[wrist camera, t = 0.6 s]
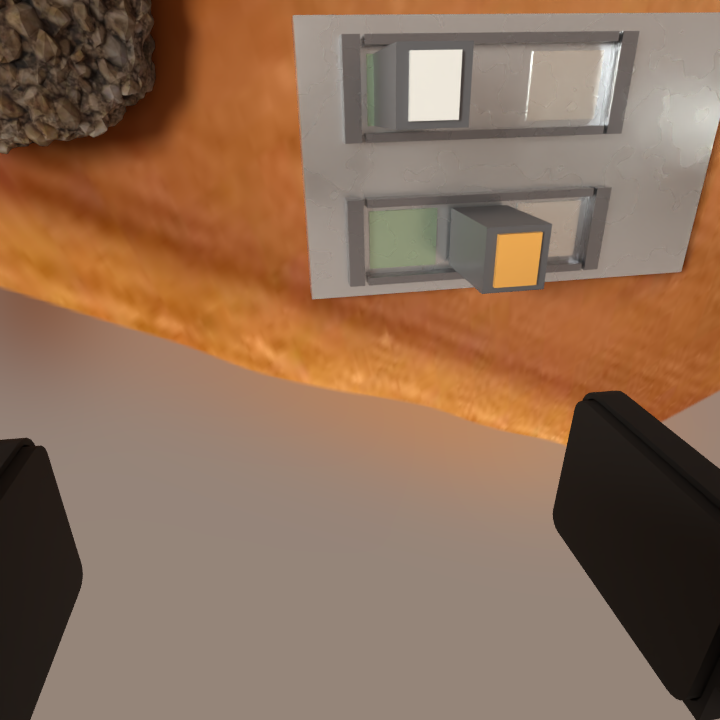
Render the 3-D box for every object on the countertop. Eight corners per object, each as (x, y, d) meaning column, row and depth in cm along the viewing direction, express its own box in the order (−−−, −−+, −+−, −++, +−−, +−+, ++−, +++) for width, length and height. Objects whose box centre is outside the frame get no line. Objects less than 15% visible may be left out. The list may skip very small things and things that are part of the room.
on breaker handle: (436, 52, 24) (475, 40, 20) (434, 123, 26) (470, 127, 21) (372, 53, 24) (397, 41, 19) (373, 125, 25) (396, 130, 21)
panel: (722, 17, 27) (759, 9, 25) (664, 265, 33) (690, 275, 30) (291, 20, 24) (293, 12, 22) (310, 290, 30) (313, 304, 28)
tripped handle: (506, 204, 28) (554, 224, 23) (501, 260, 29) (545, 290, 24) (451, 208, 27) (488, 228, 23) (448, 264, 28) (483, 295, 24)
